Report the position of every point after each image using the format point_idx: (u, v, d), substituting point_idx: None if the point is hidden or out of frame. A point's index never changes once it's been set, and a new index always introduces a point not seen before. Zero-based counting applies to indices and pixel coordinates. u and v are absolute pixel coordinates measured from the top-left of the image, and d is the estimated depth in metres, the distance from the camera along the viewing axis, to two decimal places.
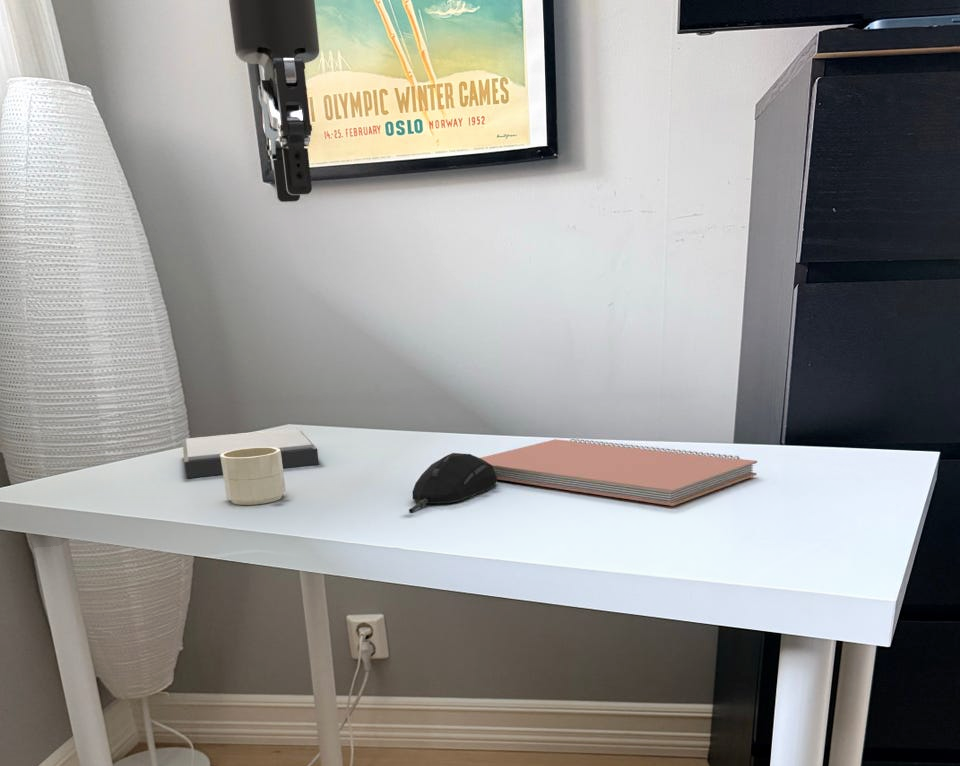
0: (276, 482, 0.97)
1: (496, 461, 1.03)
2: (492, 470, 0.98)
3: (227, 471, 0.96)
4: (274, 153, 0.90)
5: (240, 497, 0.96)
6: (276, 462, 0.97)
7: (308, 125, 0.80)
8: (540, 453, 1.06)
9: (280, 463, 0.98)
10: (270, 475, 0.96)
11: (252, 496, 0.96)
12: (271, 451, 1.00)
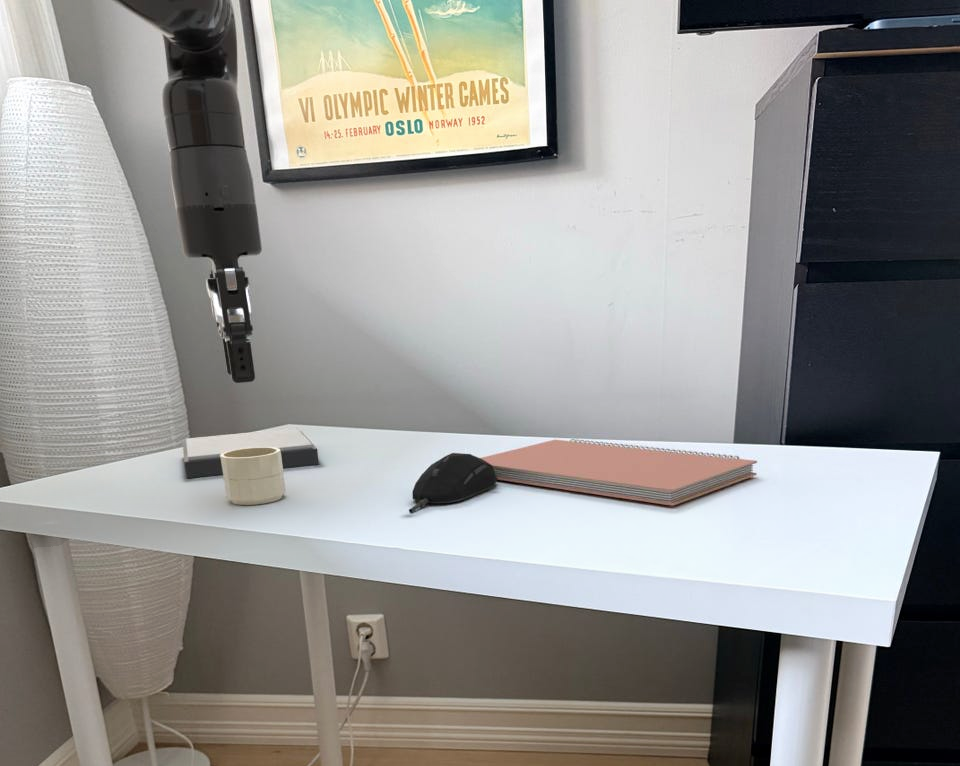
0: (276, 482, 0.97)
1: (496, 461, 1.03)
2: (492, 470, 0.98)
3: (227, 471, 0.96)
4: (223, 332, 0.97)
5: (240, 497, 0.96)
6: (276, 462, 0.97)
7: (249, 327, 0.87)
8: (540, 453, 1.06)
9: (280, 463, 0.98)
10: (270, 475, 0.96)
11: (252, 496, 0.96)
12: (271, 451, 1.00)
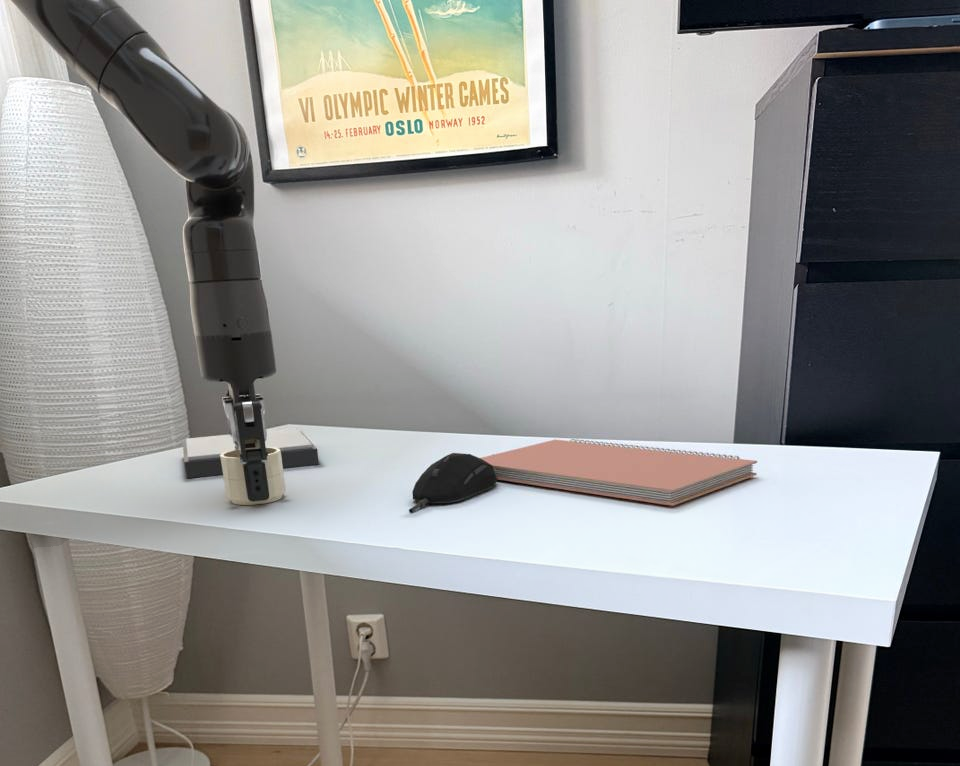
0: (276, 482, 0.97)
1: (496, 461, 1.03)
2: (492, 470, 0.98)
3: (227, 471, 0.96)
4: (239, 449, 1.00)
5: (240, 497, 0.96)
6: (276, 462, 0.97)
7: (264, 455, 0.92)
8: (540, 453, 1.06)
9: (280, 463, 0.98)
10: (270, 475, 0.96)
11: None
12: (271, 451, 1.00)
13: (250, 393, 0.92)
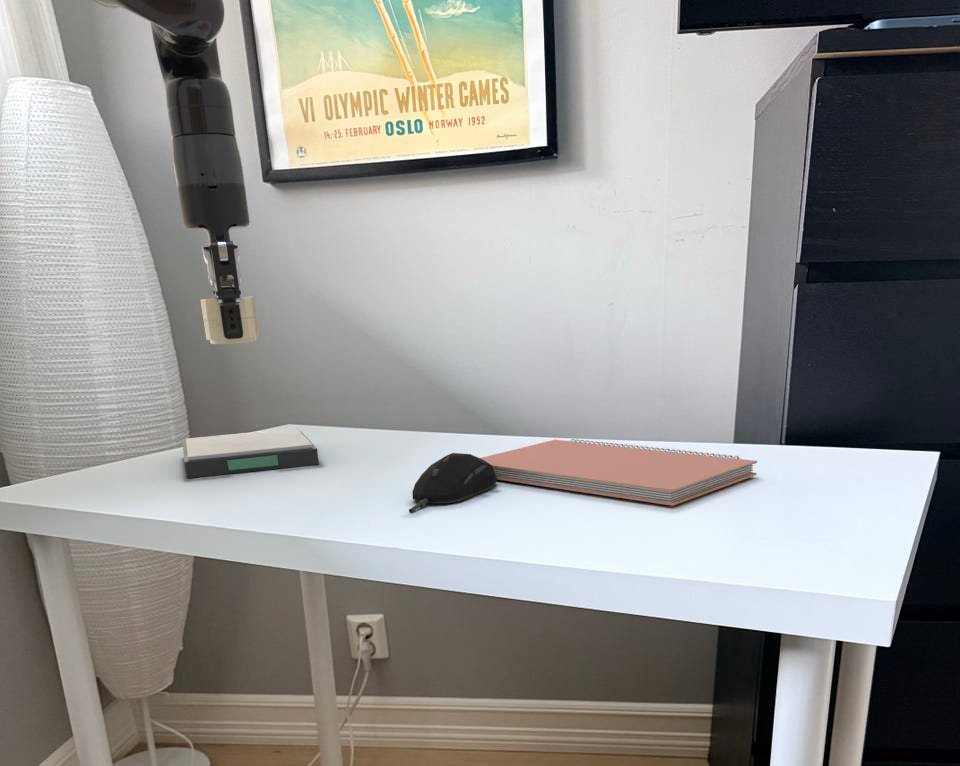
0: (250, 324, 1.10)
1: (496, 461, 1.03)
2: (492, 470, 0.98)
3: (206, 312, 1.09)
4: None
5: (218, 336, 1.09)
6: (250, 306, 1.09)
7: (238, 292, 1.04)
8: (540, 453, 1.06)
9: (254, 308, 1.10)
10: (244, 317, 1.09)
11: None
12: None
13: (225, 237, 1.04)
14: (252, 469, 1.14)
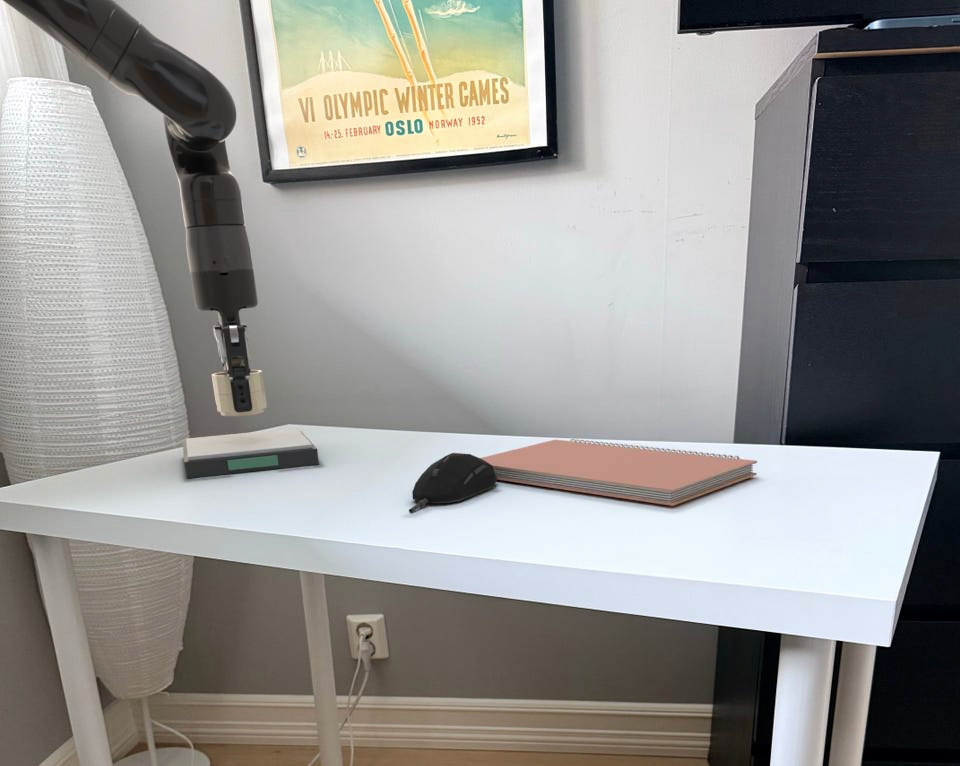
0: (258, 397, 1.17)
1: (496, 461, 1.03)
2: (492, 470, 0.98)
3: (217, 387, 1.15)
4: None
5: (228, 409, 1.16)
6: (258, 380, 1.16)
7: (247, 371, 1.11)
8: (540, 453, 1.06)
9: (262, 382, 1.17)
10: (253, 391, 1.16)
11: None
12: None
13: (236, 320, 1.11)
14: (252, 469, 1.14)
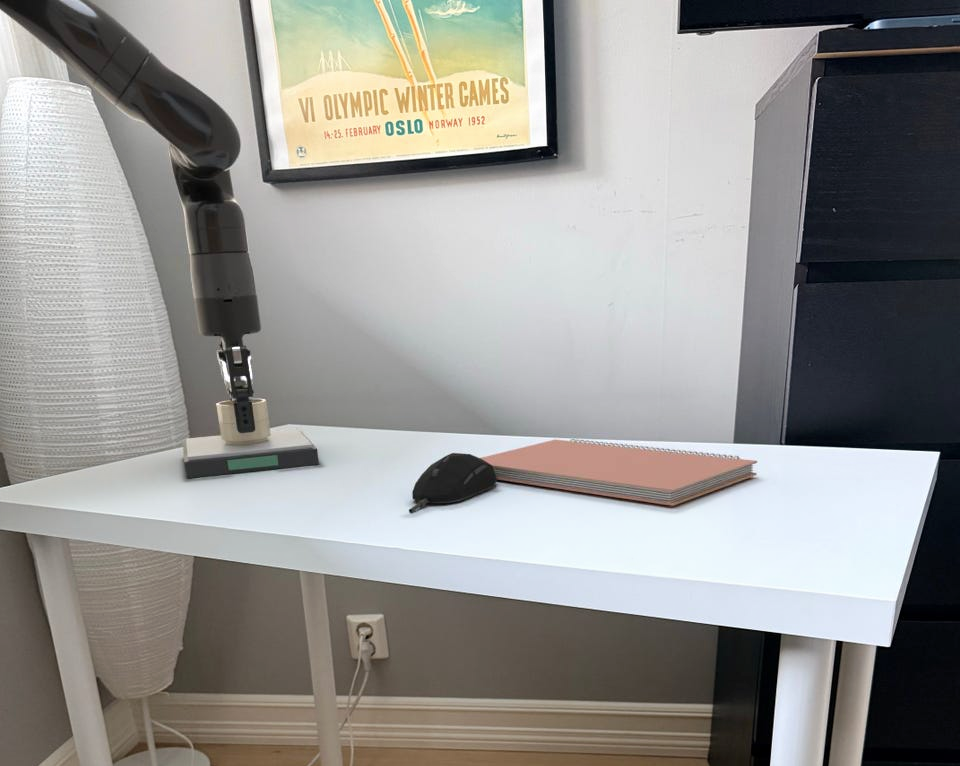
0: (262, 426, 1.18)
1: (496, 461, 1.03)
2: (492, 470, 0.98)
3: (222, 416, 1.17)
4: (230, 390, 1.21)
5: (232, 438, 1.17)
6: (262, 409, 1.18)
7: (251, 391, 1.12)
8: (540, 453, 1.06)
9: (265, 411, 1.19)
10: (257, 420, 1.17)
11: (242, 437, 1.17)
12: (258, 402, 1.21)
13: (239, 344, 1.12)
14: (252, 469, 1.14)
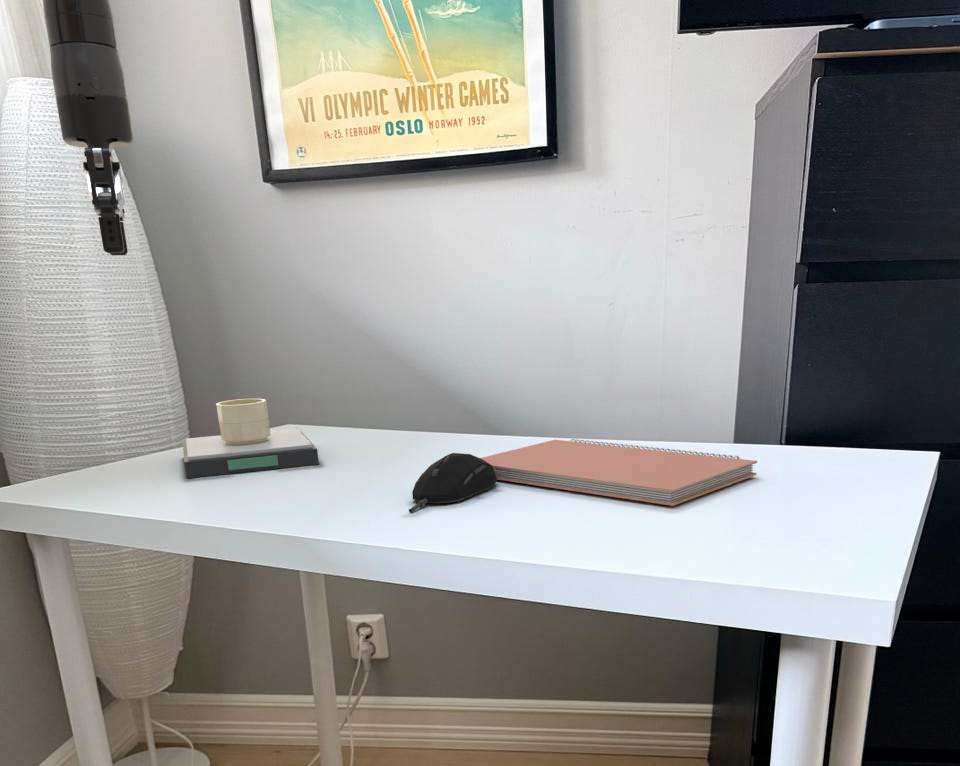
0: (262, 426, 1.18)
1: (496, 461, 1.03)
2: (492, 470, 0.98)
3: (222, 416, 1.17)
4: None
5: (232, 438, 1.17)
6: (262, 409, 1.18)
7: (114, 200, 1.01)
8: (540, 453, 1.06)
9: (265, 411, 1.19)
10: (257, 420, 1.17)
11: (242, 437, 1.17)
12: (258, 402, 1.21)
13: None
14: (252, 469, 1.14)
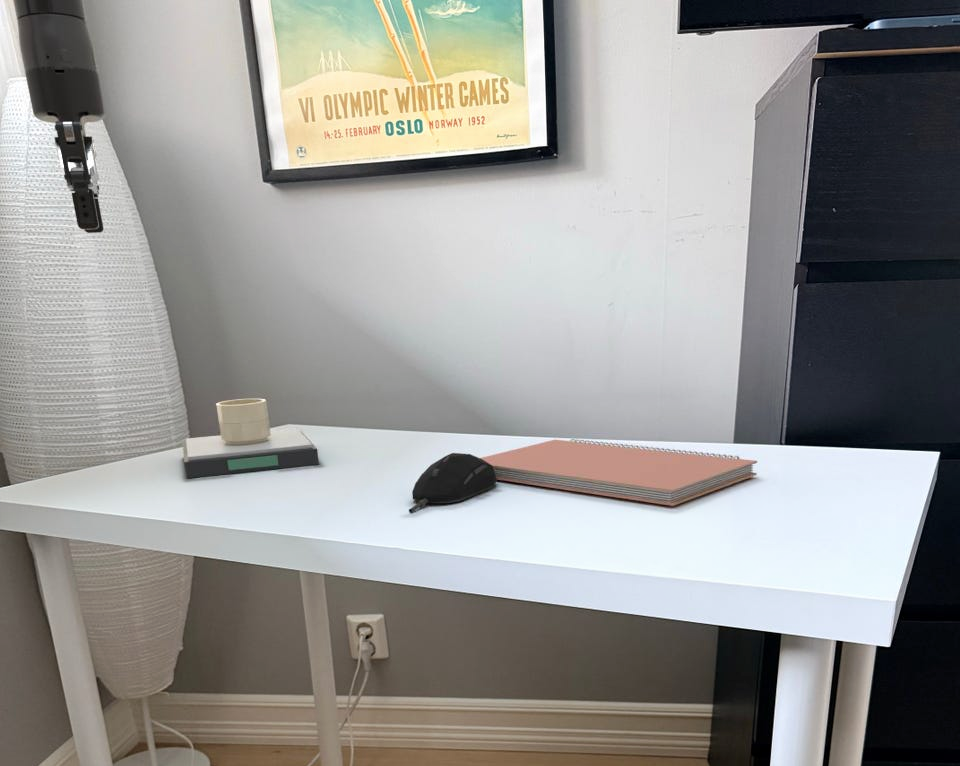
0: (262, 426, 1.18)
1: (496, 461, 1.03)
2: (492, 470, 0.98)
3: (222, 416, 1.17)
4: None
5: (232, 438, 1.17)
6: (262, 409, 1.18)
7: (87, 175, 1.00)
8: (540, 453, 1.06)
9: (265, 411, 1.19)
10: (257, 420, 1.17)
11: (242, 437, 1.17)
12: (258, 402, 1.21)
13: None
14: (252, 469, 1.14)
